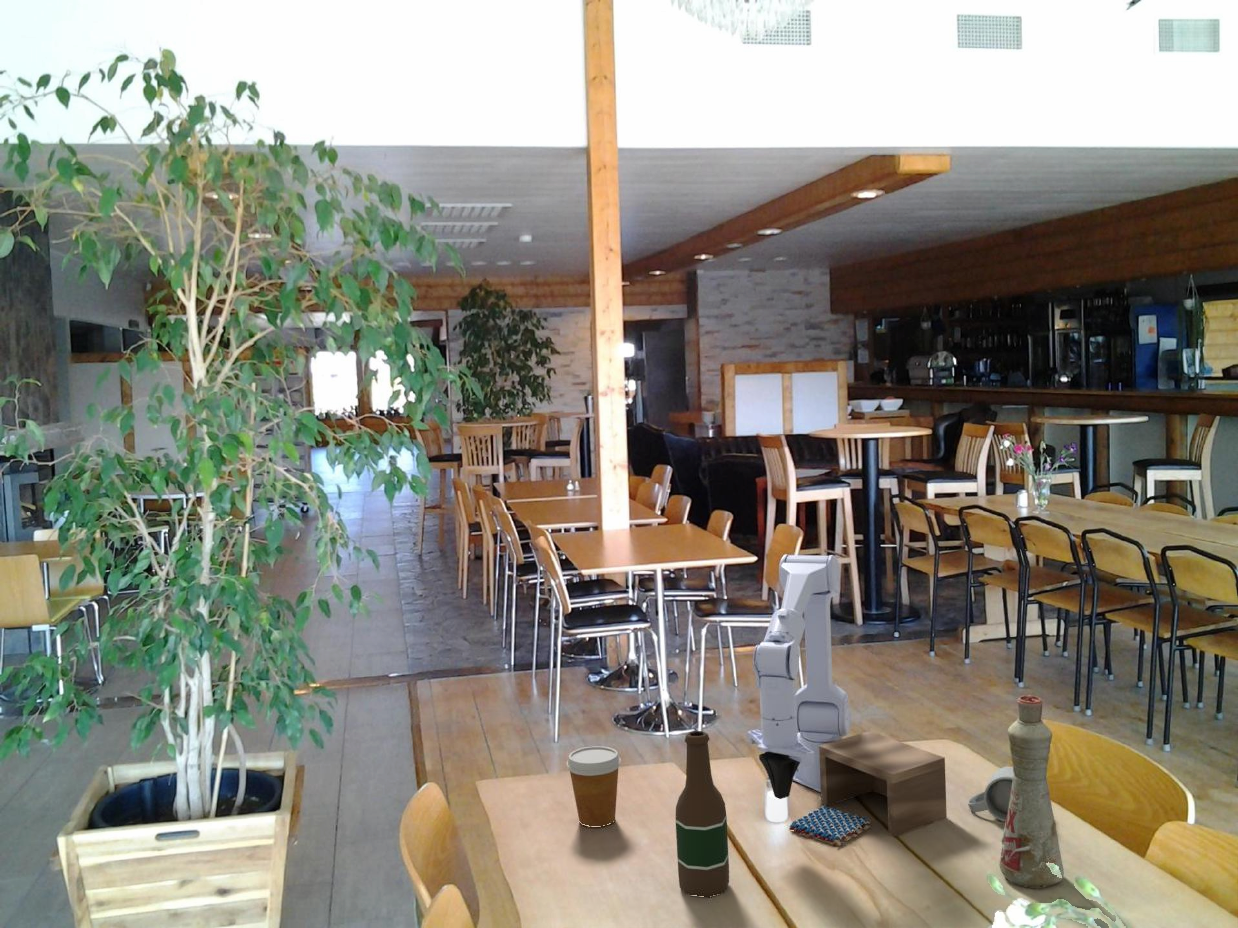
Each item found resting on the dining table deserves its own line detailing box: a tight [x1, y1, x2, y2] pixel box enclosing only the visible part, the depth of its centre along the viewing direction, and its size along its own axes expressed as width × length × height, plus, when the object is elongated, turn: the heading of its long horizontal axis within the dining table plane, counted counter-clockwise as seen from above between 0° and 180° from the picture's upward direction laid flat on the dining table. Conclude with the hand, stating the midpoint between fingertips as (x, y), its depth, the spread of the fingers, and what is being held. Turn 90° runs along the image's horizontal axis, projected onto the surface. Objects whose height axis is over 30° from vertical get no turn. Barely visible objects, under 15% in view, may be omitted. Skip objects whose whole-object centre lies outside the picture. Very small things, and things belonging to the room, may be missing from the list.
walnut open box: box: [819, 730, 948, 837], centre depth 199 cm, size 18×12×10 cm, turn 32°
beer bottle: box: [675, 730, 730, 898], centre depth 174 cm, size 8×8×24 cm
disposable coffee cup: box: [566, 745, 622, 826], centre depth 202 cm, size 10×10×12 cm
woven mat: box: [789, 804, 872, 847], centre depth 194 cm, size 10×11×2 cm
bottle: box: [998, 694, 1065, 889], centre depth 171 cm, size 9×9×28 cm
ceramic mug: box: [967, 766, 1014, 823], centre depth 196 cm, size 11×8×8 cm
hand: (782, 796), depth 188 cm, fingers closed
